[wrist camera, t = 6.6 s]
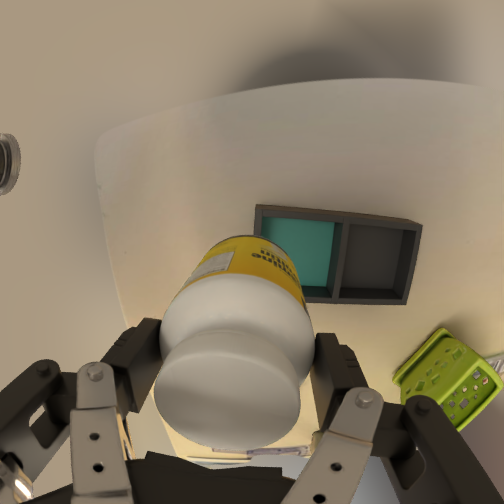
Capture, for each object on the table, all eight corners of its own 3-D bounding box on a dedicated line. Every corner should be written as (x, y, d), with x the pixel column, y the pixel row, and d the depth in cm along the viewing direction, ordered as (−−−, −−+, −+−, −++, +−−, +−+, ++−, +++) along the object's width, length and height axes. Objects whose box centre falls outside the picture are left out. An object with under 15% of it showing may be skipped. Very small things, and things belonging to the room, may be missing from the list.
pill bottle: (303, 314, 20) (334, 453, 9) (212, 329, 20) (170, 464, 9) (287, 222, 18) (322, 304, 7) (188, 242, 19) (95, 335, 8)
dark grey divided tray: (250, 286, 37) (249, 299, 33) (255, 204, 35) (255, 208, 31) (393, 292, 37) (406, 305, 33) (407, 219, 34) (422, 225, 30)
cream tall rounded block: (342, 432, 45) (351, 463, 37) (328, 446, 47) (334, 477, 39) (317, 427, 45) (323, 460, 37) (303, 442, 46) (307, 475, 38)
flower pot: (379, 375, 41) (405, 430, 29) (438, 312, 38) (482, 355, 26) (420, 400, 43) (445, 445, 31) (471, 346, 40) (507, 385, 28)
